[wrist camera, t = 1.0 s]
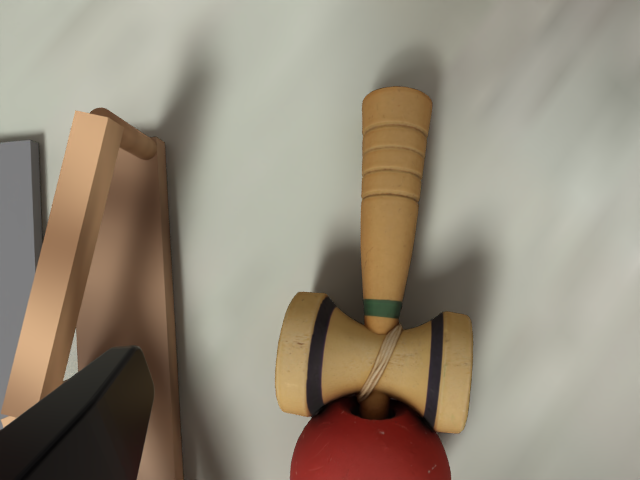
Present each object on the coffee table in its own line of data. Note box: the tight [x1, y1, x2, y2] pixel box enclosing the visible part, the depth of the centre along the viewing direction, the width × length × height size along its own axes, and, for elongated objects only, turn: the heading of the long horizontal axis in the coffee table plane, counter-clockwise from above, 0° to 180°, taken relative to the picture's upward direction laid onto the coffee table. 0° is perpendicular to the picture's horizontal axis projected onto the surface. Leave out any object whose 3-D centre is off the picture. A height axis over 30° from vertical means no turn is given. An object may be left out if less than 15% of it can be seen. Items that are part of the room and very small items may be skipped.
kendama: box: [275, 86, 473, 480], centre depth 19 cm, size 8×6×18 cm
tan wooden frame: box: [1, 108, 184, 480], centre depth 19 cm, size 21×4×6 cm, turn 4°
